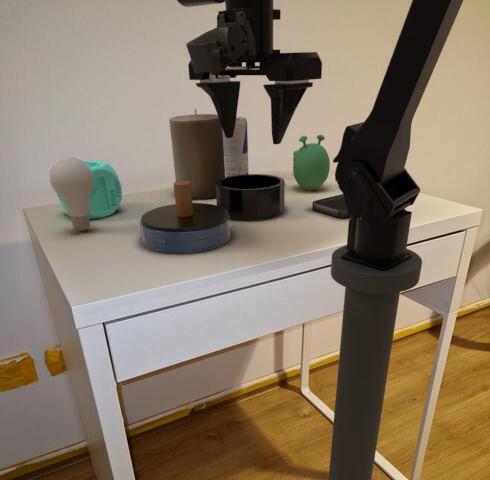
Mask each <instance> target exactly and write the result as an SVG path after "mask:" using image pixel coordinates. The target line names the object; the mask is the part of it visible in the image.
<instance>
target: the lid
mask: <svg viewBox="0 0 490 480" xmlns="http://www.w3.org/2000/svg"><path fill="white" fill-rule="evenodd" d="M173 192H174V202H175V203H174V204H167V205H163V206H159V207H155V208H152V209H150V210H148V211H146V212H145V213H144V214H142V216H141V218H140V219H141V220H142V224H143V225H144V226H146V227H148V228H150V229H153V230H158V231H166V232H188V231H197V230H203V229H207V228H211V227H214V226H217V225H220V224H222V223H223V222H225V221H226V220H227V219H228V211H227V210H226V209H225V208H223V207H220V206H217V204H211V203H203V202H193V199H192V190H191V182H190V181H177V182H176V181H174V182H173Z"/></svg>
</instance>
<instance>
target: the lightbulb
mask: <svg viewBox="0 0 490 480" xmlns="http://www.w3.org/2000/svg"><path fill="white" fill-rule="evenodd" d="M83 161H84V160H82V159H79V158H77V157H74V156H73V157H72V156H66V157H65V156H64V157H61V158H59V159H58V160H56V161H55V162H54V163H53V164H52V166H51V167H50V170H49V183H50V185H51V187H52V189H53V191H55V193H56V195H57V194H58V195H59V197H60V198H61V199H62V201H63V202H64V204H65V206H66V208H67V211H68V214H69V215H68V214H67V215H68V216H69V217H70V220H71V224H72V227H73V228H74V229H75V230H78V231H79V232H86V231H87V229H88V228H90V226H91V222H90V219H89V215H88V214H89V197H90V194H91V191H92V187H93V180H94V179H93V174H92V172H91V170H90V168H89V167H88V166H87V164H85V163H84V162H83Z"/></svg>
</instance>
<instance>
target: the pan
mask: <svg viewBox="0 0 490 480" xmlns="http://www.w3.org/2000/svg"><path fill="white" fill-rule="evenodd" d="M139 229H140V235H141V236H140V237H141V241H142V244H143V246H144V247H145V248H147V249H148V250H150V251H153V252H157V253H162V254H171V255H183V254H184V255H185V254H197V253H202V252H207V251H211V250H214V249H217V248H219V247H221V246H223V245H225V244H226V243H228V242H229V241H230V239H231V233H232V232H231V219H230V217H229V214H228V219H227V220H226V221H225V222H223V223H222V224H220V225H217V226H214V227H211V228H207V229H203V230H197V231H188V232H166V231H158V230H153V229H150V228H148V227H146V226H144V225H143V224H142V220H141V218H140V219H139Z"/></svg>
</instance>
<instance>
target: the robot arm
mask: <svg viewBox="0 0 490 480" xmlns="http://www.w3.org/2000/svg"><path fill="white" fill-rule="evenodd" d="M176 1H177V2H178V4H180V5H181V6H183V7H185V8H193V7H202V6H209V5H219V4H223V3H225V4H224V8H225V10H218V12H217V13H218V14H217V15H216V27H215V28H212V29H210V30H207V31H206V32H204V33H202V34H200V35H199V36H196V37H195V38H193V39H191V40H190V41H188V42H187V43H186V44H185V46H186V49H187V52H188V55H189V58H190V60H189V62H188V65H187V66H188V78H189V81H199V82H195V86H196V87H197V88H200V89H201V90H203V92H204V93H206V94H207V95H208V97H209V98H210V100H211V102H212V104H213V106H214V109H215V112H216V115H218V117H219V120H220V123H221V126H222V128H223V131H224V134H225V137H226V138H232V137H233V134H234V129H235V124H236V117H237V116H238V115H237V114H238V105H239V98H240V90H241V80H231V79H236V78H237V77H238V76H265V77H266V79H267V80H268V81H269V82H274V83H269V84H263V85H262V86H263V88H264V90H265V92H266V93H267V95H268V97H269V99H270V112H271V113H270V119H271V120H270V121H271V138H272V139H271V140H272V144H273V145H280V144H281V143H282V141H283V139H284V137H285V134H286V132H287V130H288V127H289V125H290V123H291V121H292V118H293V116H294V114H295V113H296V110H297V108H298V106H299V104H300V102H301V101H302V98H303V96H304V95H305V93H306V92H307V90H308V88H313V86H314V82H313V81H311V80H322V73H323V71H322V70H323V61H322V59H321V57H320V55H319V53H318V52H317V51H305V52H303V51H301V52H299V51H298V52H281V49H274V21H279V20H281V10H282V9H275V8H274V0H176ZM463 2H464V0H412V1H411V3H410V6H409V8H408V11H407V14H406V17H405V19H404V22H403V24H402V27H401V30H400V33H399V35H398V38H397V40H396V44H395V47H394V49H393V51H392V54H391V58H390V59H389V62H388V64H387V68H386V70H385V73H384V76H383V79H382V81H381V85H380V86H379V87H380V88H379V89H378V93H377V95H376V98H375V101H374V103H373V106H372V109H371V111H370V113H369V115H367V118H366V119H365V120H364V121H362V122H358V123H355V124H354V123H353V124H351V125H347V126H346V127H345V130H344V132H343V134H342V139H341V145H340V148H339V151H338V153H337V154H336V156H335V157H334V158H333V159H332V163H333V164H336V163H337V165H336V167H335V171H334V179H335V182H336V183H337V186H338V188H339V190H340V191H341V194H344V199H345V203H346V207H347V211H348V215H349V216H350V217H349V219H348V224H347V225H348V226H347V239H346V245H347V250H349V251H348V252H346V253H343V254H342V255H341V258H342V259H344V260H347V261H351V262H354V263H357V264H360V265H364V266H367V267H370V268H373V269H377V270H380V271H387V270H389V269H391V268H393V267H395V266H397V265H399V264H400V263H402V262H404V261H406V260H408V259H410V258H411V257H412V254H411V253H408V252H406V249H408V240H409V234H410V228H411V222H412V221H411V220H412V216H413V212H412V211H410V210H407V208H408V207H410V206H413V205H414V204H415V202H416V200H417V198H418V196H419V195H420V193H421V188H420V186H419V185H418V184H417V183H416V181H415V180H414V179H413V177H412V176H411V174H410V173H409V172H408V170H407V169H406V168H405V167H406V164H407V160H408V156H409V152H410V148H411V137H412V136H411V135H412V125H413V120H414V117H415V115H416V112H417V110H418V108H419V105H420V103H421V100H422V98H423V96H424V93H425V91H426V89H427V87H428V84H429V81H430V79H431V77H432V75H433V73H434V70H435V68H436V65H437V64H438V60H439V59H440V56H441V54H442V52H443V49H444V47H445V44H446V42H447V40H448V38H449V36H450V33H451V30H452V28H453V26H454V23H455V21H456V19H457V16H458V14H459V12H460V9H461V7H462V5H463ZM244 63H245V65H243V64H244ZM256 63H259V64H258V65H256Z"/></svg>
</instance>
